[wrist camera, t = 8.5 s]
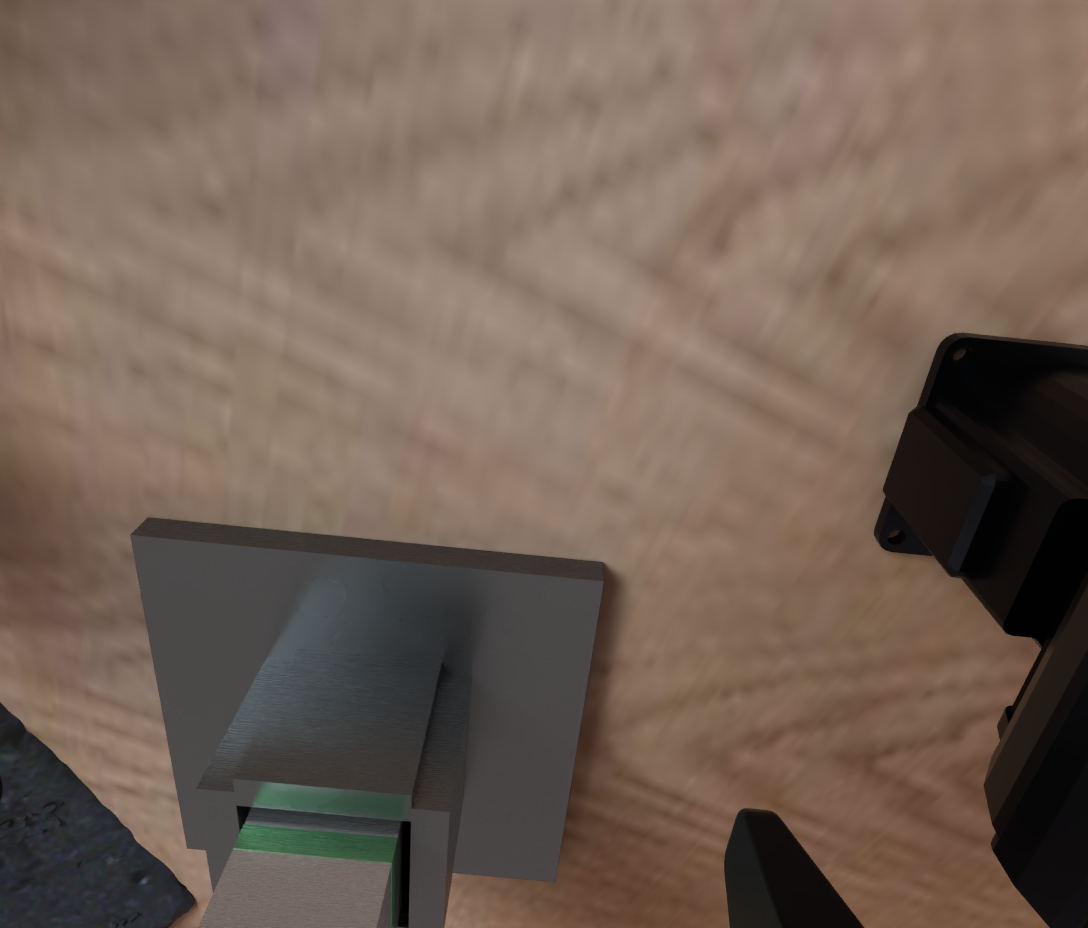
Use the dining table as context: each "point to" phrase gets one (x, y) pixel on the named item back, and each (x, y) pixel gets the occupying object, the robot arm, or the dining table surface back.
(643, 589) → the dining table surface
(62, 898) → the dark slate chunk
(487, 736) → the stand
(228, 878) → the column
